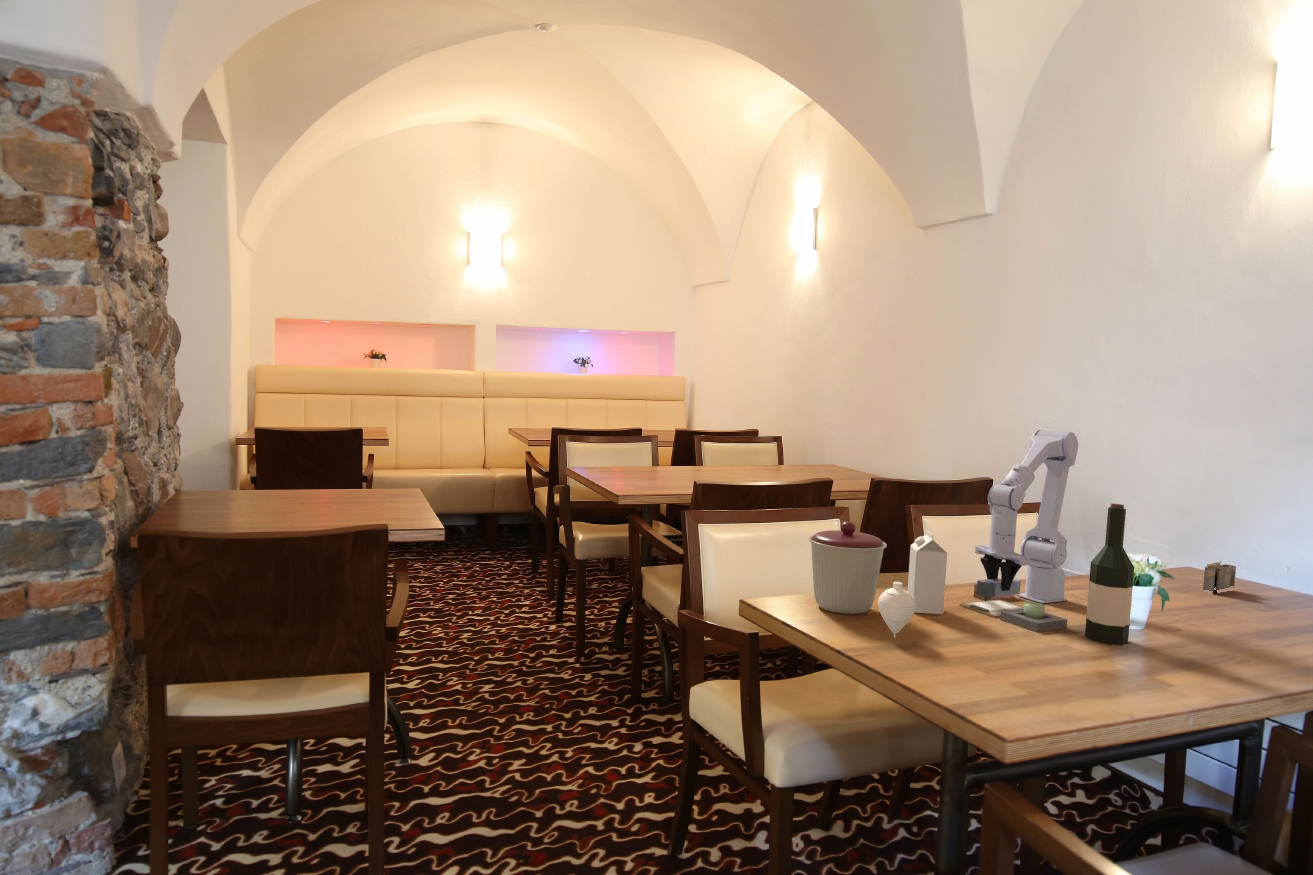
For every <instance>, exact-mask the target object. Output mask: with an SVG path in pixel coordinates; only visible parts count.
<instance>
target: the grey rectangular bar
mask: <svg viewBox="0 0 1313 875" xmlns="http://www.w3.org/2000/svg"><path fill="white" fill-rule="evenodd" d="M976 584H977V594H978V595H981V596H984V597H987V598H989V597H998V596H1008V595H1014V596H1017V595H1018V594H1021V580H1020V579H1016V578H1014V579H1013V581H1012V584H1011V587H1010V590H1008V591H1002V590H1001V577H1000V578H999V577H998V579H988V580H987V579H980V580H979V579H978V580H977V583H976Z"/></svg>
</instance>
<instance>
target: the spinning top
mask: <svg viewBox="0 0 1313 875" xmlns="http://www.w3.org/2000/svg"><path fill="white" fill-rule="evenodd" d="M892 585H893V586H892V587H890V588H888V589H886V590H884V591H883V592H882V593H881V594H880V596H879V597H878V600H877V607H878V610H879V612H880V615H881V617H882V619H883V621H884V622H885V624H886V626H887V627H888V629H889V630H890V631H891V633H893V639H896V635H897V634H898V633H899V632H901V630H902V629H903V628H904V627H905V626H906V625H907V623H908V622H910V620H911V618H912V617H913V615H914V614H915V613H914V611H915V601H914V599H913V597H912V596H911V595H910V593H909V592H908V590H905V589H903V585H904V584H903V582H901V581H893V582H892Z"/></svg>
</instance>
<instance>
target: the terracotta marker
mask: <svg viewBox="0 0 1313 875" xmlns="http://www.w3.org/2000/svg"><path fill="white" fill-rule="evenodd" d="M974 597H975V599H977V598H978V599H977V600H980V599H982V600H981V601H983V600H986V601H989V600H992V599H995V600H998V599H1000V600H1002V599H1001V598H1005V599H1011V597H1014V598H1015V595H1008V596H998V597H989V598H987V597H984V596H981V595H978V594H977V583H976V584H974V588H973V598H974Z"/></svg>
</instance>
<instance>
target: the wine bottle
mask: <svg viewBox="0 0 1313 875" xmlns="http://www.w3.org/2000/svg"><path fill="white" fill-rule="evenodd" d="M1126 515H1127V509H1126V508H1125V505H1124V504H1123V503H1122V504H1120V503H1110V507H1108V506H1107V518H1106V527H1105V528H1106V529H1105V542H1104V546H1103V547H1102V548H1101V549H1100V551H1099V552H1098V553H1097V554H1096V556H1094V558H1093V559H1092V560H1091V561H1090V569H1089V579H1088V582H1089V583H1088V590H1087V591H1088V594H1087V604H1086V605H1087V607H1086V618H1085V631H1084V637H1085V638H1087V639H1088V640H1090V641H1092V642H1096V643H1098V644H1099V643H1100V644H1104V645H1109V646H1110V645H1111V646H1124V645H1126V644H1128V643H1129V634H1130V633H1129V632H1130V624H1131V610H1132V602H1133V601H1132V598H1133V587H1134V577H1135V576H1134V575H1135V565H1134V564H1133V562H1132V561H1131V559H1130V557H1129V556H1128V554H1127V551H1126V550H1125V547H1124V538H1125V537H1124V536H1125V529H1126V528H1125V526H1126Z"/></svg>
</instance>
